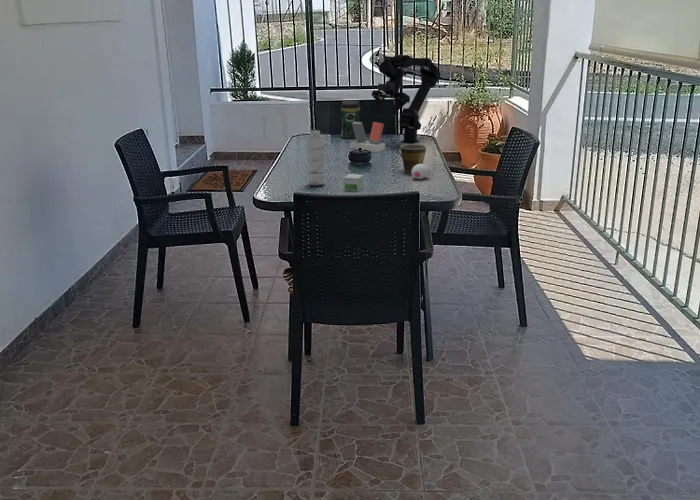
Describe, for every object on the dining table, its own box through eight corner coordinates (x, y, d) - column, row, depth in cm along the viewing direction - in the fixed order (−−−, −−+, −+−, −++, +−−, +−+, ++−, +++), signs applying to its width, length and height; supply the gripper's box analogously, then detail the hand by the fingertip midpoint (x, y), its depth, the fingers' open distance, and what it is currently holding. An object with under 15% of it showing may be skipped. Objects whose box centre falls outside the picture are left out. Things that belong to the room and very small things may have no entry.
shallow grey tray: (360, 146, 305) (360, 139, 304) (385, 150, 296) (385, 143, 295) (350, 148, 301) (350, 141, 300) (375, 152, 291) (375, 145, 290)
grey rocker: (358, 139, 302) (354, 121, 297) (366, 140, 299) (362, 122, 294) (356, 141, 301) (351, 123, 296) (364, 142, 298) (359, 124, 293)
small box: (343, 190, 230) (343, 176, 228) (349, 186, 235) (349, 173, 233) (358, 191, 228) (358, 178, 226) (364, 187, 233) (364, 174, 231)
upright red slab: (371, 142, 297) (375, 122, 296) (379, 144, 293) (383, 123, 293) (368, 142, 295) (373, 122, 294) (376, 143, 292) (381, 123, 291)
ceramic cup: (430, 171, 255) (431, 146, 251) (415, 176, 248) (415, 150, 245) (404, 166, 263) (405, 142, 260) (389, 171, 256) (389, 146, 253)
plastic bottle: (307, 183, 240) (305, 129, 233) (325, 182, 240) (323, 128, 233) (307, 187, 234) (305, 132, 227) (326, 187, 234) (324, 131, 227)
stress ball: (421, 184, 249) (413, 169, 250) (436, 175, 244) (428, 159, 244) (409, 187, 244) (402, 172, 244) (424, 178, 238) (416, 162, 239)
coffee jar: (361, 136, 330) (360, 99, 323) (360, 139, 322) (359, 101, 316) (342, 136, 331) (341, 99, 324) (340, 139, 323) (340, 101, 317)
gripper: (369, 73, 295) (359, 106, 295) (401, 75, 283) (391, 110, 284) (383, 82, 304) (373, 114, 304) (414, 85, 292) (405, 118, 292)
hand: (385, 114), depth 296 cm, fingers open, 9 cm apart
